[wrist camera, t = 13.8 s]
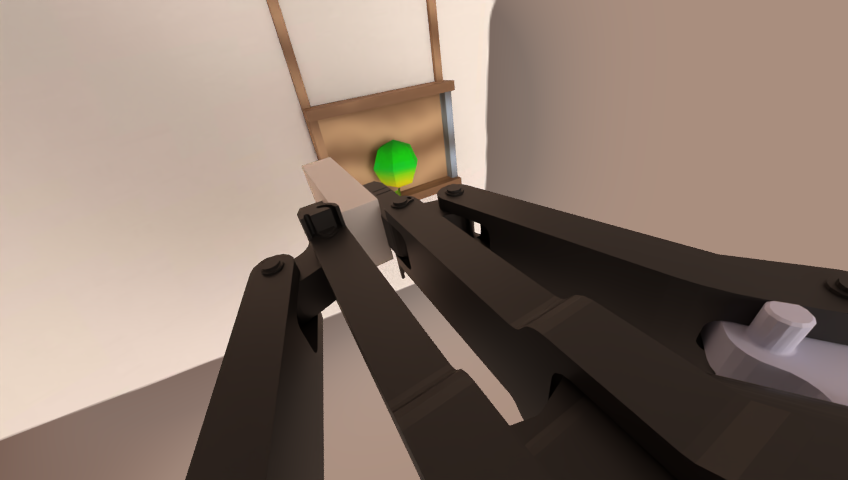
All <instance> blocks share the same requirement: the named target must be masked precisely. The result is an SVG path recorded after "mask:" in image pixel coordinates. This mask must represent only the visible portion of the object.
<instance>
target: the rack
mask: <svg viewBox="0 0 848 480" xmlns="http://www.w3.org/2000/svg"><path fill="white" fill-rule="evenodd" d="M426 2H427V11H428V21H429V31H430V40H431V50H432V60H433V70H434V79H435V82H430V83H425V84H420V85H415V86H411V87H406V88H401V89H396V90H391V91H386V92H381V93H376V94H371V95H367V96H362V97H357V98H352V99H347V100H342V101H337V102H332V103H327V104H323V105H318V106H313V107H311V106H310V103H309V100H308V97H307V94H306V90H305V87H304V84H303V81H302V77H301V74H300V71H299V68H298V64H297V61H296V58H295V55H294V52H293V48H292V45H291V42H290V39H289V35H288V32H287V29H286V26H285V22H284V19H283V16H282V13H281V9H280V6H279V3H278V0H267V3H268V6H269V10H270V13H271V16H272V19H273V22H274V25H275V28H276V31H277V34H278V37H279V40H280V43H281V46H282V50H283V53H284V56H285V59H286V62H287V65H288V68H289V71H290V74H291V77H292V80H293V83H294V86H295V90H296V93H297V96H298V99H299V102H300V105H301V108H302V111H303V114H304V117H305V120H306V123H307V126H308V130H309V133H310V136H311V139H312V142H313V145H314V148H315V151H316V154H317V157H318V160H322V159H325V158H328V157H331V158H332V159H333V160H334V161H335V162H336V163H337V164H339V165H340V166H341V167H342V168H343V169H344V170H345V171H347V172H348V173H349V174H350V175H351V176H352V177H353V178H354V179H356V180H357V181H358V182H359V183H360V184H361V185H364V184H367V183H370V182H373V181H376V182H381V181H380V179H379V178H378V176H377V174H376V173H375V171H374V170H373V169H374V164H375V160H376V155H377V150H378V149H379V147H380V146H382V145H384V144H386V143H387V142H389V141H391V140H397V141H401V142H404V143H408V144H410V145H411V147H412V149H413V151H414V153H415V155H416V157H417V159H418V161H417V166H416V170H415V174H414V178H413V182H412V183H410V184H408V185H405V186H402V187H400V191H401V196H405V195H407V196H413V197H415V198H417V199H418V200H420V199H423V198H426V197H428V196H431V195H434V194H437V193H438V191H439V190H440V189H441V188H443V187H445V186H447V185H451V184H461V178H460V177H458V175H457V163H456V150H455V137H454V125H453V112H452V99H451V91H453V90H455V88H454V80H443V77H442V66H441V55H440V44H439V33H438V21H437V10H436V0H426ZM386 186H387V185H386ZM387 187H389V188H390V189H391V190H393V191H394V192H395V191H397V190H398V187H392V186H387Z"/></svg>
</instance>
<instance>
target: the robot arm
mask: <svg viewBox="0 0 848 480" xmlns="http://www.w3.org/2000/svg"><path fill="white" fill-rule="evenodd" d="M302 169H303V171H304V174H305V176H306V179H307V181H308V184H309V186H310V189H311V191H312V194H313V196H314V199H315V201H316V203H314V204H311V205H308V206H306V207H303V208H300V209H299V211H298V214H297V216H298V218H299V220H300V223H301V225H302V227H303V229H304V231H305V234H306V236H307V238H308V240H309V245H308V247H307V249H306V250H305V251H304V252H303V253H302V254H300V255H299V256H298V257H296V258H295V259H294V258H293V257H292V256H290V255H286V254H281V255H275V256H272V257H269V258H266V259H264V260H263V261H261V262H260V263H259V264H258V265H257V266H255V267H254V268H253V270H252V271H251V273H250V276H249V279H248V282H247V285H246V288H245V292H244V295H243V298H242V301H241V304H240V307H239V311H238V314H237V317H236V320H235V323H234V327H233V330H232V333H231V336H230V339H229V342H228V346H227V349H226V352H225V355H224V358H223V361H222V365H221V368H220V371H219V374H218V378H217V381H216V384H215V387H214V390H213V393H212V396H211V400H210V403H209V406H208V409H207V412H206V415H205V419H204V422H203V425H202V428H201V431H200V435H199V438H198V441H197V444H196V447H195V451H194V454H193V457H192V460H191V463H190V466H189V469H188V473H187V476H186V479H185V480H324V443H323V442H324V439H323V438H324V437H323V436H324V433H323V317H322V314H321V311H323V310H324V309H325V308H327V307H328V306H329V305H330V304H332V303H333V302H334V301H335V300H336V301H337V303H338V305H339V307H340V309H341V311H342V313H343V316H344V318H345V320H346V322H347V324H348V326H349V328H350V330H351V332H352V334H353V337H354V339H355V341H356V343H357V345H358V347H359V349H360V352H361V354H362V356H363V358H364V360H365V362H366V364H367V366H368V369H369V371H370V372H371V375H372V377H373V379H374V381H375V383H376V385H377V388H378V390H379V392H380V394H381V396H382V398H383V400H384V402H385V405H386V407H387V409H388V411H389V413H390V415H391V417H392V420H393V422H394V424H395V426H396V428H397V430H398V432H399V434H400V436H401V439H402V441H403V443H404V445H405V447H406V449H407V451H408V453H409V455H410V458H411V460H412V461H413V464H414V466H415V468H416V470H417V472H418V475H419V477H420V479H421V480H848V271H843V270H837V269H829V268H821V267H814V266H806V265H798V264H790V263H782V262H774V261H766V260H759V259H750V258H743V257H735V256H727V255H719V254H715V253H712V252H708V251H704V250H701V249H697V248H693V247H690V246H686V245H682V244H678V243H675V242H671V241H668V240H664V239H661V238H657V237H653V236H650V235H646V234H642V233H639V232H635V231H632V230H628V229H624V228H621V227H617V226H613V225H610V224H606V223H602V222H599V221H595V220H591V219H588V218H584V217H581V216H577V215H573V214H570V213H566V212H562V211H558V210H555V209H552V208H548V207H544V206H541V205H537V204H533V203H530V202H526V201H522V200H519V199H515V198H512V197H508V196H504V195H500V194H497V193H493V192H490V191H486V190H482V189H479V188H475V187H471V186H468V185H463V184H451V185H447V186H445V187H443V188H441V189H440V190H439V191H438V193H437V196H438V200H436V201H431V202H427V203H423V202H421V201H420V200H418V199H417V198H415V197H413V196H407V195H405V196H399V195H398V194H397V193H395V192H394V191H393V190H391V189H390V188H389V187H387V186H386V185H385V184H383V183H381V182H376V181H373V182H370V183H367V184H364V185H361V184H360V183H359V182H358V181H357V180H356V179H354V178H353V177H352V176H351V175H350V174H349V173H348V172H347V171H345V170H344V169H343V168H342V167H341V166H340V165H339V164H337V163H336V162H335V161H334V160H333V159H332V158H331V157H328V158H325V159H322V160H319V161H315V162H312V163H309V164H306V165H302ZM474 222H477V223H480V224H481V234H477V233H475V232H474ZM391 249H392V250H393V251H394V252H395V253H396V257H397V261H398V265H399V269H400V273H401V276H402V279H404V278H405V275H404V272H406V273H407V274H408V276H409V277H410V278H411V279H412V280H413V281H414V283H415V284H416V285H417V286H418V287H419V288H420V289H421V291H422V292H423V293H424V294H425V295H426V297H427V298H428V299H429V300H430V301H431V302H432V304H433V305H434V306H435V307H436V308H437V309H438V310H439V312H440V313H441V314H442V315H443V316H444V317H445V319H446V320H447V321H448V322H449V323H450V325H451V326H452V327H453V328H454V329H455V330H456V332H457V333H458V334H459V335H460V336H461V337H462V338H463V340H464V341H465V342H466V343H467V344H468V345H469V346H470V348H471V349H472V350H473V351H474V352H475V354H476V355H477V356H478V357H479V358H480V359H481V361H482V362H483V363H484V364H485V365H486V366H487V368H488V369H489V370H490V371H491V372H492V373H493V375H494V376H495V377H496V378H497V379H498V380H499V382H500V383H501V384H502V385H503V386H504V387H505V389H506V390H507V391H508V392H509V393H510V395H511V396H512V397H513V399H514V401H515V403H516V405H517V407H518V410H519V412H520V414H521V416H522V418H523V419H524V421H521V422H519V423H516V424H513V425H511V426H509V425H508V423H507V422H506V421H505V419H504V418H503V417H502V416H501V415H500V413H499V412H498V411H497V409H496V408H495V407H494V406H493V404H492V403H491V402H490V400H489V399H488V398H487V397H486V395H485V394H484V393H483V392H482V391H481V389H480V388H479V387H478V385H477V384H476V383H475V381H474V380H473V379H472V378H471V377H470V376H469V375H468V374H467V373H466V372H465V371H463V370H462V369H459V370H456V369H454V368H453V367H452V366H451V365H450V363H449V362H448V361H447V359H446V358H445V357H444V355H443V354H442V353H441V351H440V350H439V349H438V348H437V346H436V345H435V344H434V342H433V341H432V340H431V339H430V337H429V336H428V334H427V333H426V332H425V331H424V329H423V328H422V326H421V325H420V324H419V322H418V321H417V320H416V318H415V317H414V316H413V315H412V313H411V312H410V310H409V309H408V308H407V306H406V305H405V304H404V302H403V301H402V300H401V298H400V297H399V296H398V294H397V293H396V292H395V290H394V289H393V288H392V286H391V285H390V284H389V282H388V281H387V280H386V278H385V277H384V276H383V274H382V273H381V272H380V270H379V269H378V268H377V266H379V265H381V264H383V263H385V262H387V261H389V260H392V259H393V255H392V251H391Z"/></svg>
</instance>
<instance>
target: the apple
mask: <svg viewBox="0 0 848 480" xmlns="http://www.w3.org/2000/svg"><path fill="white" fill-rule="evenodd" d="M417 161H418V159H417V157H416V155H415V153H414V151H413V149H412V147H411V145H410V144H408V143H404V142H401V141H397V140H391V141H389V142H387V143H386V144H384V145H382V146H380V147H379V149H378V150H377V155H376V160H375V164H374V169H373V170H374V171H375V173H376V174H377V176H378V178H379V179H380V181H381V183H383V184H385V185H387V186H392V187H398V190H397V191H395V193H397V194H398V195H399V196H401V191H400V187H402V186H405V185H408V184H410V183H412V182H413V178H414V174H415V170H416V166H417Z"/></svg>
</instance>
